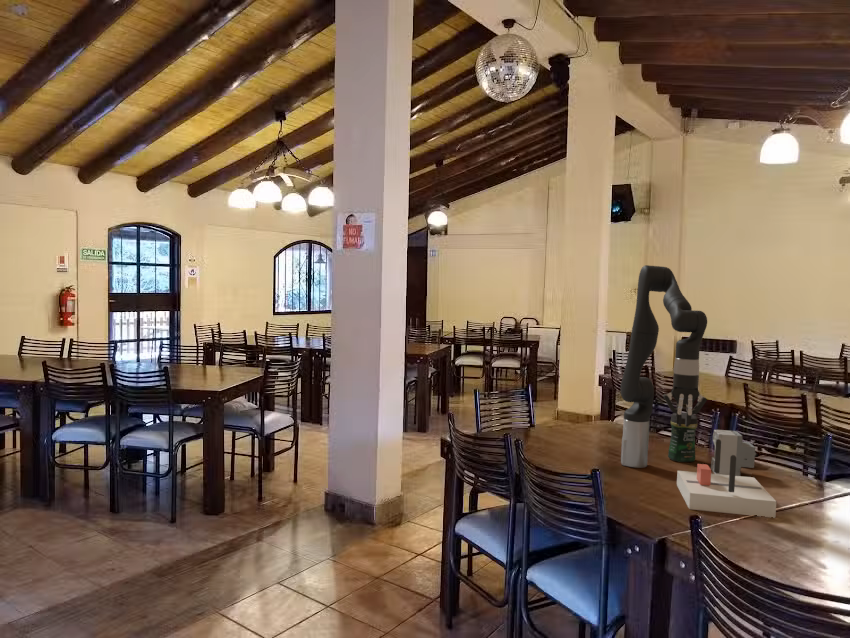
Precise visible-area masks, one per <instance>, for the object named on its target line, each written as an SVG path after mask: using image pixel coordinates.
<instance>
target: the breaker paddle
mask: <svg viewBox="0 0 850 638" xmlns="http://www.w3.org/2000/svg"><path fill="white" fill-rule="evenodd" d="M696 472H697V480H698V482H699V483H700V485H710V483H711V474H712V470H711V466H709V465H708V464H706V463H705V464H704V463H702V464H701V463H697V465H696Z"/></svg>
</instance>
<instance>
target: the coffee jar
mask: <svg viewBox="0 0 850 638" xmlns="http://www.w3.org/2000/svg"><path fill="white" fill-rule="evenodd" d="M686 414H687V412H681V415H682V420H681V426H678V424H677V423H676V413H674V412H672V414H671V418H670V426H671V432H670V433H671V434H670V440H669V441H670V442H669V447H668V452H667V453H668V454H667V457H668V458H669V459H670V460H671V461H675V462H678V463H691V462H695V460H696V437H695V436H696V430H697V428H698V416H697V414H693V415H692V416H691V424H690V425H689V427H686V426H685V419H686Z"/></svg>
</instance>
